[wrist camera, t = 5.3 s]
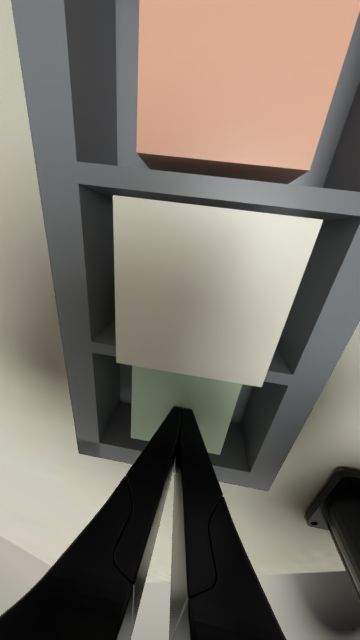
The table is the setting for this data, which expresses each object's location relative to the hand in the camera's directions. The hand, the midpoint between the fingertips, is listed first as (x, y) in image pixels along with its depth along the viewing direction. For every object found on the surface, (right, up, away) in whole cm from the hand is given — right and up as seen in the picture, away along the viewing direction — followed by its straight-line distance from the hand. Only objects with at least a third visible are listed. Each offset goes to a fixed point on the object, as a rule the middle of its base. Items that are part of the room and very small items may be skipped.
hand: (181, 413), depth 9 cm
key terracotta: (+1, +11, -2) cm, 12 cm away
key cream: (+1, +5, -2) cm, 6 cm away
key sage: (0, +1, +2) cm, 2 cm away
